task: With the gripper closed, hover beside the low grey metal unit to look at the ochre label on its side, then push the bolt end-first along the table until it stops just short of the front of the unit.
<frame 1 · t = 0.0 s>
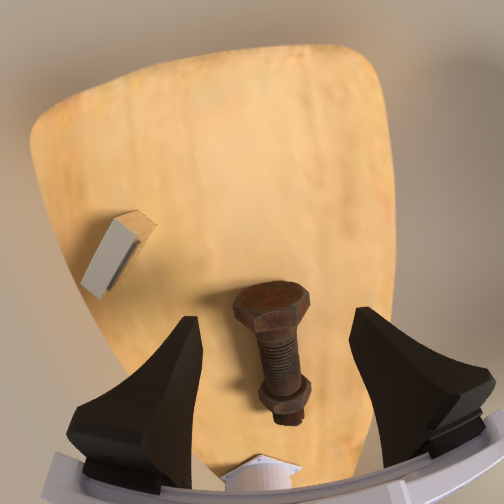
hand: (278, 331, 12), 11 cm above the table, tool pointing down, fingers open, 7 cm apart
bolt: (277, 353, 25), on the table
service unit: (129, 246, 21), on the table
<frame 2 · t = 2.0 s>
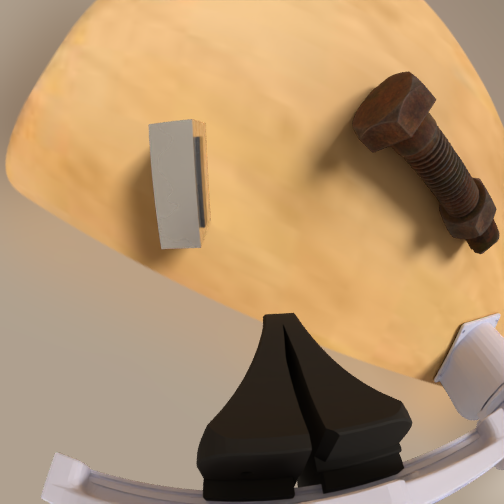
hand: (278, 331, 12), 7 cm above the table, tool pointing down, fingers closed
bolt: (429, 175, 17), on the table
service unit: (191, 173, 16), on the table
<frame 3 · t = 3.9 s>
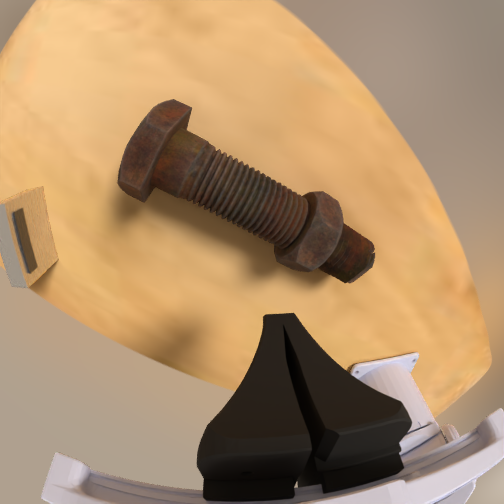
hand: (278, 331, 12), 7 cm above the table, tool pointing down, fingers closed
bolt: (259, 197, 17), on the table
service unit: (41, 224, 17), on the table
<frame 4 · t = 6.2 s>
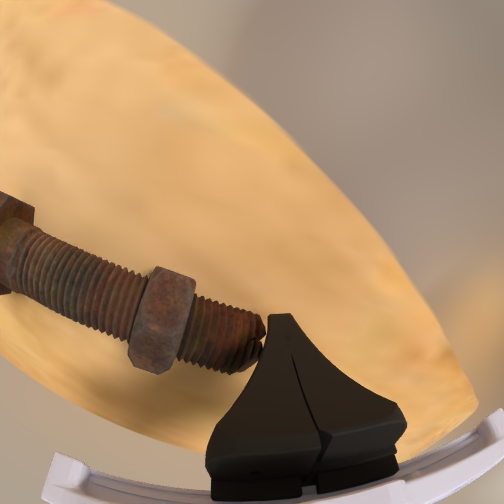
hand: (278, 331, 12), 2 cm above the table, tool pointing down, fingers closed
bolt: (119, 270, 13), on the table, touching gripper
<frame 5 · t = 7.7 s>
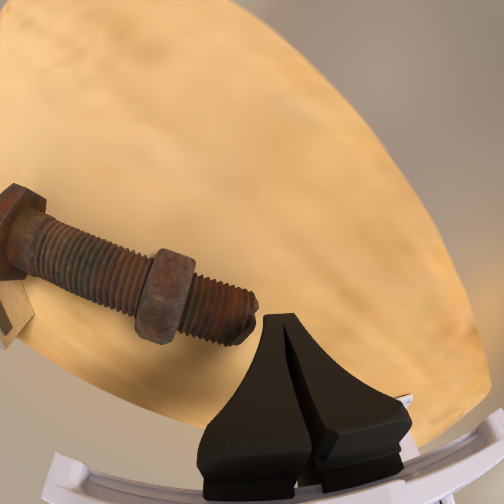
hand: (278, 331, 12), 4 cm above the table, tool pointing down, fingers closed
bolt: (126, 255, 15), on the table
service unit: (13, 279, 15), on the table
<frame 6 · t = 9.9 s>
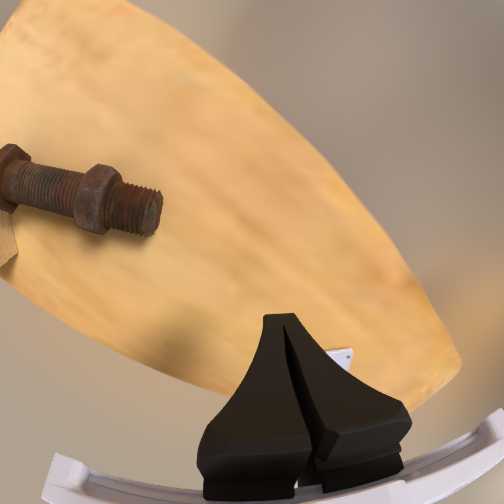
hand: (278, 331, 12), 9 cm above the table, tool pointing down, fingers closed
bolt: (81, 186, 18), on the table
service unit: (5, 224, 18), on the table
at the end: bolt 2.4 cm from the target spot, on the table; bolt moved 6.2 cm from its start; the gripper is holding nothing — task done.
